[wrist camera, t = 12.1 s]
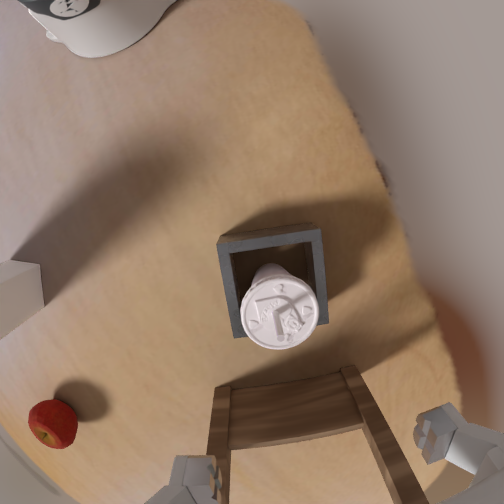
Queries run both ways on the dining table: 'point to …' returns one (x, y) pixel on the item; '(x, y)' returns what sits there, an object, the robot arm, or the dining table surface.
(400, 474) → the green-topped frame
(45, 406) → the apple
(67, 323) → the dining table surface
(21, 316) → the milk
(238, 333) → the socket
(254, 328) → the smoothie
